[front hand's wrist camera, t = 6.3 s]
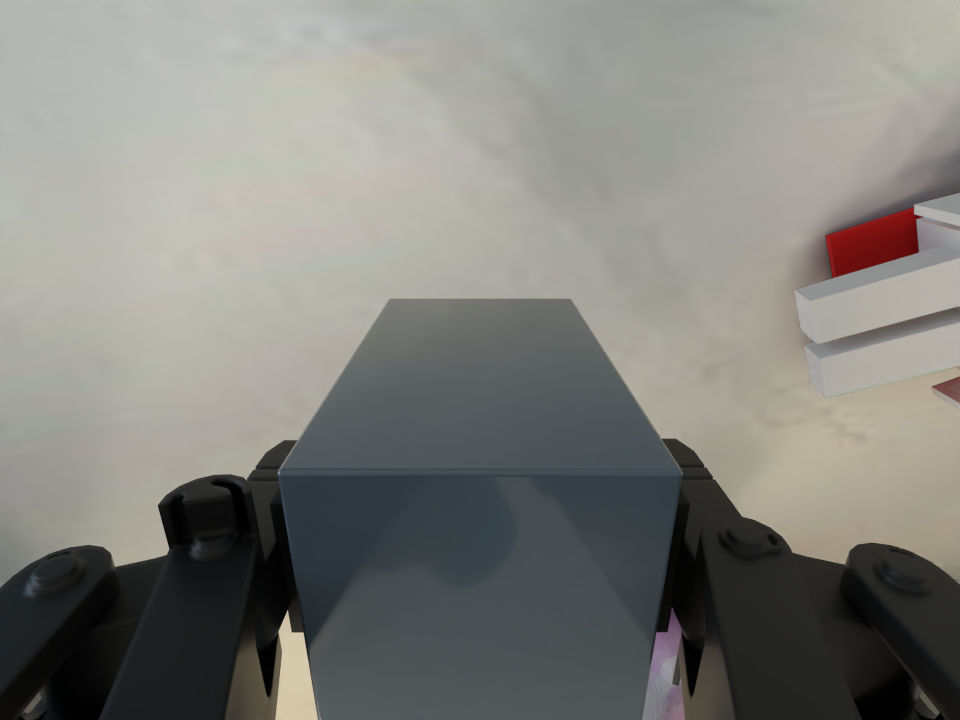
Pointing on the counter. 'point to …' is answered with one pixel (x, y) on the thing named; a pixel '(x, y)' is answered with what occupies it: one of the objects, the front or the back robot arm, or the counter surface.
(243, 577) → the front robot arm
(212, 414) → the counter surface
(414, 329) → the brick
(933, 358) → the toy
